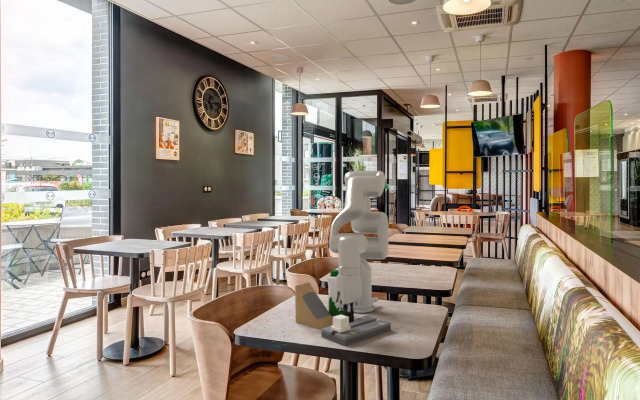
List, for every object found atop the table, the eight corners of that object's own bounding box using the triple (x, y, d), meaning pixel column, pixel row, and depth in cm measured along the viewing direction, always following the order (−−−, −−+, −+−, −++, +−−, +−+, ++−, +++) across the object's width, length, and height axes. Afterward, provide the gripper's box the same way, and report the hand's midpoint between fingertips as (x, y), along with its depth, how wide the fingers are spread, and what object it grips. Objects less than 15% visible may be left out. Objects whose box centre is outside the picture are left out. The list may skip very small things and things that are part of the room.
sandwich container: (325, 331, 170) (325, 291, 169) (294, 323, 180) (294, 285, 179) (339, 325, 177) (339, 287, 176) (309, 318, 186) (308, 281, 186)
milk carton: (335, 316, 188) (335, 268, 187) (355, 319, 183) (355, 270, 182) (324, 321, 181) (324, 271, 180) (344, 325, 176) (344, 274, 175)
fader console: (367, 322, 179) (367, 315, 179) (390, 330, 170) (390, 322, 170) (321, 336, 163) (321, 328, 163) (344, 345, 154) (344, 336, 154)
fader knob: (341, 329, 165) (340, 313, 165) (350, 332, 161) (350, 317, 161) (330, 332, 162) (330, 316, 161) (340, 335, 158) (340, 319, 158)
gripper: (356, 266, 171) (356, 315, 172) (326, 272, 161) (326, 323, 162) (370, 269, 165) (370, 319, 166) (341, 275, 155) (341, 328, 156)
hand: (349, 321), depth 164 cm, fingers closed
